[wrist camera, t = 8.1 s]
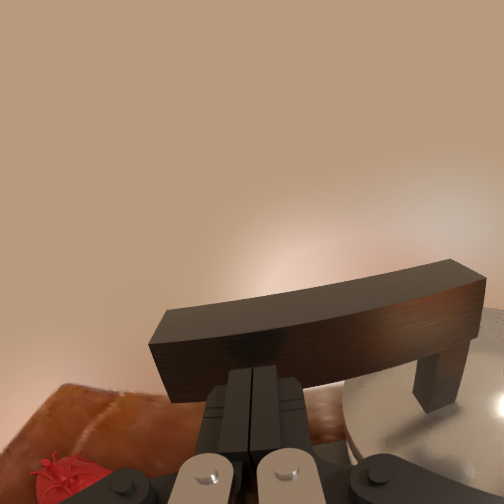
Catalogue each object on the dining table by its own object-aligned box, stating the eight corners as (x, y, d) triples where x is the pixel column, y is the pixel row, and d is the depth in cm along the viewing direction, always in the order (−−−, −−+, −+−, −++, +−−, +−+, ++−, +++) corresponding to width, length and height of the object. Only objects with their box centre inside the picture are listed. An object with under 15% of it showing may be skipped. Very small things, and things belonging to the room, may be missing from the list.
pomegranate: (147, 552, 15) (92, 508, 12) (57, 546, 12) (-5, 497, 10) (142, 477, 24) (103, 421, 22) (66, 481, 22) (22, 426, 19)
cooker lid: (492, 304, 22) (499, 210, 20) (619, 404, 4) (666, 271, 2) (221, 369, 23) (194, 261, 21) (197, 601, 5) (61, 527, 3)
